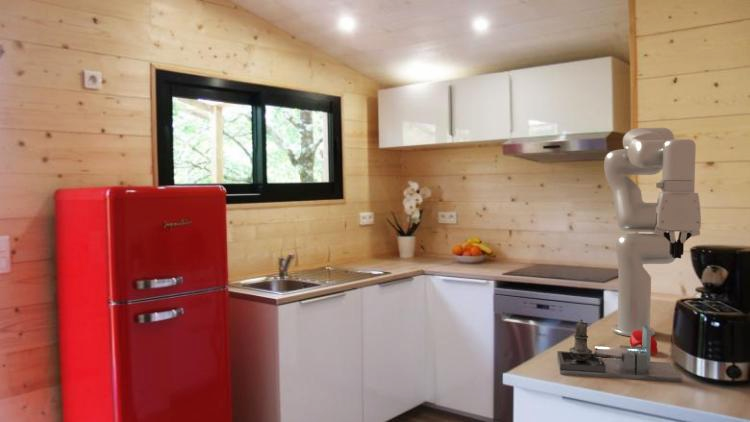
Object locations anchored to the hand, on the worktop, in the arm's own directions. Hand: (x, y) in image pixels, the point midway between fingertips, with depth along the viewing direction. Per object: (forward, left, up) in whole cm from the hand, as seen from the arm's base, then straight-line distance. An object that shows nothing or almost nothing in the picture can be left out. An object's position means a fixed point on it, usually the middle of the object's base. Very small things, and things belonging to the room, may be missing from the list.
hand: (676, 257), depth 157 cm
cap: (-12, -5, -29) cm, 32 cm away
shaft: (+6, -14, -28) cm, 32 cm away
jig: (+6, -15, -29) cm, 33 cm away
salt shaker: (+6, -24, -28) cm, 37 cm away
